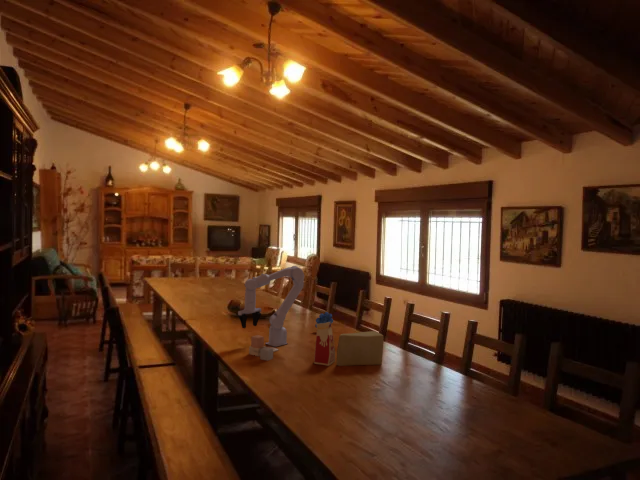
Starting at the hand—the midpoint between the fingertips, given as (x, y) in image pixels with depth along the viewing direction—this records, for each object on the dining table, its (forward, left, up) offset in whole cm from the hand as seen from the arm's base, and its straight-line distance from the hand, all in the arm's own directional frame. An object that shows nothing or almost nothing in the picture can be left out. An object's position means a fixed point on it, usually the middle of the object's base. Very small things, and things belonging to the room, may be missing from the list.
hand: (249, 326), depth 258 cm
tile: (-2, +14, -10) cm, 17 cm away
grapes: (-55, +5, -10) cm, 56 cm away
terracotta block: (+7, +15, -6) cm, 18 cm away
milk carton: (-8, +46, -10) cm, 48 cm away
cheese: (-19, +59, -10) cm, 63 cm away
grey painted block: (+9, +24, -10) cm, 28 cm away
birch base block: (+7, +15, -10) cm, 19 cm away
